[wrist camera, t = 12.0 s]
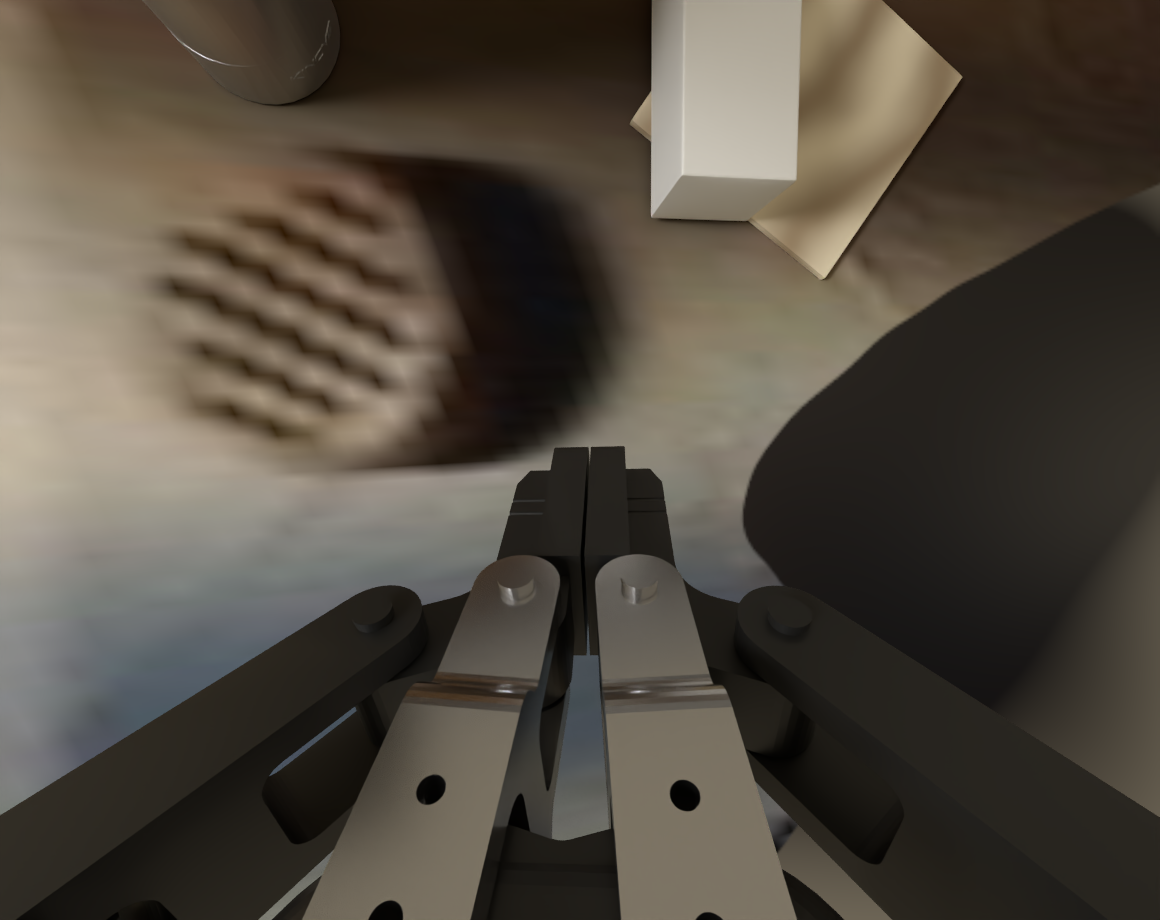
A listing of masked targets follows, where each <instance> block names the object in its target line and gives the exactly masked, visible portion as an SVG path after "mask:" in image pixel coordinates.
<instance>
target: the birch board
mask: <svg viewBox="0 0 1160 920" xmlns="http://www.w3.org/2000/svg"><path fill="white" fill-rule="evenodd" d="M961 78H962V76H961V75H960V74H959V73H958V72H957V71H956V70H955V69H954V68H953V67H952V66H951V65H950V64H949V63H948V62H946V61H945V60H944V59H943V58H942V57H941V56H940V55H939V54H938V53H937V52H936V51H935V50H934V49H933V48H932V47H931V46H930V45H929V44H927V43H926V42H925V41H924V40H923V39H922V38H921V37H920V36H919V35H918V34H917V33H916V32H915V31H914V30H913V29H912V28H911V27H910V26H909V25H907V24H906V23H905V22H904V21H903V20H902V19H901V18H900V17H899V16H898V15H897V14H896V13H895V12H894V11H893V10H892V9H891V8H890V7H889V6H887V5H886V4H885V3H884V2H883V1H882V0H802V16H801V50H800V84H799V118H798V152H797V179H796V181H795V182H794V183H793V184H792V185H791V186H790V187H788V188H787V189H786V190H785V191H783V192H782V193H781V194H780V195H778V196H777V197H776V198H775V199H773V200H772V201H771V202H770V203H768V204H767V205H766V206H765V207H763V208H762V209H761V210H760V211H758V212H757V213H756V214H755V215H753V216H752V217H751V218H750V219H748V221H749V222H750V223H751V224H752V225H754V226H755V227H756V228H757V229H759V230H760V231H761V232H762V233H764V234H765V235H766V236H767V237H768V238H770V239H771V240H772V241H773V242H775V243H776V244H777V245H778V246H779V247H781V248H782V249H783V250H784V251H786V252H787V253H788V254H789V255H791V256H792V257H793V258H794V259H795V260H797V261H798V262H799V263H800V264H802V265H803V266H804V267H805V268H806V269H808V270H809V271H810V272H811V273H813V274H814V275H815V276H816V277H818V278H819V279H820V280H822V279H824V278H825V277H826V276H827V275H828V273H829V272H830V270H831V269H832V267H833V266H834V264H835V263H836V261H837V260H838V258H839V257H840V256H841V254H842V253H843V251H844V250H845V248H846V247H847V245H848V244H849V242H850V241H851V239H852V238H853V236H854V235H855V234H856V232H857V231H858V229H859V228H860V226H861V225H862V223H863V222H864V220H865V219H866V217H867V216H868V215H869V213H870V212H871V210H872V209H873V207H874V206H875V204H876V203H877V201H878V200H879V198H880V197H881V195H882V194H883V193H884V191H885V190H886V188H887V187H888V185H889V184H890V182H891V181H892V179H893V178H894V176H895V175H896V174H897V172H898V171H899V169H900V168H901V166H902V165H903V163H904V162H905V160H906V159H907V157H908V156H909V154H910V153H911V152H912V150H913V149H914V147H915V146H916V144H917V143H918V141H919V140H920V138H921V137H922V135H923V134H924V133H925V131H926V130H927V128H928V127H929V125H930V124H931V122H932V121H933V119H934V118H935V116H936V115H937V113H938V112H939V111H940V109H941V108H942V106H943V105H944V103H945V102H946V100H947V99H948V97H949V96H950V94H951V93H952V92H953V90H954V89H955V87H956V86H957V84H958V83H959V81H960V80H961ZM630 125H631V126H632V127H633V128H635V129H636V130H637V131H638V132H640V133H641V134H642V135H643V136H644V137H646V138H647V139H648V140H649V141H651V92H650V94H649V95H648V97H647V98H646V100H645V101H644V103H643V104H642V105H641V107H640V108H639V110H638V111H637V113H636V114H635V116H634V117H633V119H632V120H631V123H630Z"/></svg>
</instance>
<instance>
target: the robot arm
mask: <svg viewBox="0 0 1160 920" xmlns="http://www.w3.org/2000/svg"><path fill="white" fill-rule="evenodd" d="M142 1H143V2H144V3H145V4H146V5H147V6H148V7H149V8H150V9H151V11H152V12H153V13H154V14H155V15H156V16H157V17H158V18H159V19H160V20H161V22H162V23H163V24H164V25H165V26H166V27H167V28H168V29H169V31H170V32H171V33H172V34H173V35H174V36H175V37H176V38H177V40H178V41H179V42H180V43H181V44H182V45H183V46H184V47H185V48H186V49H187V50H188V51H189V53H190V54H191V55H192V56H193V57H194V58H195V59H196V60H197V61H198V62H199V63H200V64H201V66H202V67H203V68H204V69H205V70H206V71H207V72H208V73H209V74H210V75H211V76H212V77H213V78H214V80H215V81H216V82H217V83H219V84H220V85H222V86H223V87H224V88H226V89H227V90H228V91H230V92H231V93H233V94H235V95H237V96H240V97H242V98H244V99H246V100H249V101H253V102H257V103H261V104H277V105H278V104H284V103H290V102H295V101H297V100H299V99H302V98H304V97H307V96H308V95H310V94H311V93H312V92H314V91H315V90H317V89H318V88H319V87H320V86H321V85H322V84H323V83H324V81H325V80H326V79H327V78H328V77H329V75H330V73H331V71H332V69H333V67H334V65H335V64H336V60H337V56H338V52H339V48H340V28H339V22H338V16H337V13H336V11H335V8H334V5H333V3H332V0H142ZM588 626H589V644H590V655H598V656H599V676H600V700H601V714H602V729H603V744H604V758H605V773H606V788H607V802H608V818H609V829H608V830H604V831H601V832H597V833H593V834H589V835H586V836H582V837H578V838H575V839H571V840H565V841H560V840H554V839H552V816H553V804H554V796H555V790H556V783H557V777H558V771H559V764H560V758H561V751H562V745H563V738H564V732H565V726H566V719H567V713H568V706H569V700H570V682H571V678H572V669H573V655H586V653H587V631H588ZM353 707H356V710H357V711H356V712H355V713H354V714H352V715H351V716H350V717H348V718H347V719H346V720H345V721H343V722H342V723H341V724H339V725H338V726H337V727H336V728H334V729H333V730H332V731H330V732H329V733H328V734H326V735H325V736H324V737H323V738H321V739H320V740H319V741H317V742H316V743H315V744H314V745H312V746H311V747H310V748H308V749H307V750H306V751H305V752H303V753H302V754H301V755H299V756H298V757H297V758H295V759H294V760H293V761H292V762H290V763H289V764H288V765H286V766H285V767H284V768H283V769H281V770H280V771H278V772H277V773H275V774H273V775H271V776H269V775H270V774H271V773H272V771H273V770H274V769H275V768H276V767H277V766H278V765H279V764H280V763H282V762H283V761H284V760H285V759H287V758H288V757H289V756H291V755H292V754H293V753H294V752H296V751H297V750H298V749H300V748H301V747H302V746H304V745H305V744H306V743H308V742H309V741H310V740H311V739H313V738H314V737H315V736H317V735H318V734H319V733H321V732H322V731H323V730H325V729H326V728H327V727H328V726H330V725H331V724H332V723H334V722H335V721H336V720H338V719H339V718H340V717H342V716H343V715H344V714H345V713H347V712H348V711H349V710H351V709H352V708H353ZM268 776H269V777H268ZM755 782H756V783H757V784H758V785H759V786H760V787H761V788H762V789H763V790H764V791H765V792H766V793H767V794H768V795H769V796H770V797H771V798H772V799H773V800H774V801H775V802H776V803H777V804H778V805H779V806H780V807H781V808H782V809H783V810H784V811H785V812H786V813H787V814H788V815H789V816H790V817H791V818H792V819H793V820H794V821H795V822H796V823H797V824H798V825H799V826H800V827H801V828H802V829H803V830H804V831H805V832H806V833H807V834H808V835H809V836H810V837H811V838H812V839H813V840H814V841H815V842H816V843H817V844H818V845H819V846H820V847H821V848H822V849H823V850H824V851H825V852H826V853H827V854H828V855H829V856H830V857H831V858H832V859H833V860H834V861H835V862H836V863H837V864H838V865H839V866H840V867H841V868H842V869H843V870H844V871H845V872H846V873H847V874H848V876H850V877H851V879H852V880H853V881H854V882H855V883H856V884H857V885H858V886H859V887H860V888H862V890H863V891H864V892H865V893H866V894H867V895H868V896H869V897H870V898H871V899H872V900H873V901H874V902H875V903H876V904H877V905H878V906H879V907H880V908H881V909H882V910H883V911H884V912H885V913H886V914H887V915H888V916H889V917H890V918H891V919H892V920H1160V817H1158V816H1156V815H1155V814H1153V813H1152V812H1150V811H1149V810H1147V809H1146V808H1144V807H1143V806H1141V805H1139V804H1138V803H1136V802H1135V801H1133V800H1132V799H1130V798H1128V797H1127V796H1125V795H1124V794H1122V793H1121V792H1119V791H1117V790H1116V789H1114V788H1113V787H1111V786H1110V785H1108V784H1107V783H1105V782H1103V781H1102V780H1100V779H1099V778H1097V777H1096V776H1094V775H1093V774H1091V773H1089V772H1088V771H1086V770H1085V769H1083V768H1082V767H1080V766H1078V765H1077V764H1075V763H1074V762H1072V761H1071V760H1069V759H1068V758H1066V757H1064V756H1063V755H1061V754H1060V753H1058V752H1057V751H1055V750H1053V749H1052V748H1050V747H1049V746H1047V745H1046V744H1044V743H1043V742H1041V741H1039V740H1038V739H1036V738H1034V737H1033V736H1031V735H1030V734H1028V733H1027V732H1025V731H1024V730H1022V729H1021V728H1019V727H1018V726H1016V725H1014V724H1013V723H1011V722H1010V721H1008V720H1007V719H1005V718H1003V717H1002V716H1000V715H999V714H997V713H996V712H994V711H993V710H991V709H989V708H988V707H986V706H985V705H983V704H981V703H980V702H978V701H977V700H975V699H974V698H972V697H971V696H969V695H967V694H966V693H964V692H963V691H961V690H960V689H958V688H957V687H955V686H953V685H952V684H950V683H949V682H947V681H945V680H944V679H943V678H941V677H939V676H938V675H936V674H935V673H933V672H932V671H930V670H928V669H927V668H925V667H924V666H922V665H921V664H919V663H917V662H916V661H914V660H913V659H911V658H910V657H908V656H907V655H905V654H903V653H902V652H900V651H899V650H897V649H895V648H894V647H893V646H891V645H889V644H888V643H886V642H885V641H883V640H882V639H880V638H878V637H877V636H875V635H874V634H872V633H871V632H869V631H867V630H866V629H864V628H863V627H861V626H860V625H858V624H856V623H855V622H853V621H852V620H850V619H849V618H847V617H846V616H844V615H843V614H841V613H839V612H838V611H836V610H834V609H833V608H831V607H830V606H828V605H827V604H825V603H823V602H822V601H821V600H819V599H817V598H816V597H814V596H812V595H810V594H808V593H806V592H803V591H801V590H798V589H795V588H790V587H785V586H766V587H761V588H758V589H755V590H753V591H751V592H749V593H748V594H747V595H745V596H744V597H743V599H742V600H741V601H740V603H736V602H732V601H728V600H724V599H720V598H716V597H713V596H709V595H707V594H705V593H702V592H700V591H698V590H697V589H695V588H693V587H692V586H691V585H689V584H688V583H687V582H686V581H685V580H684V579H683V578H682V576H681V575H680V573H679V572H678V570H677V569H676V566H675V562H674V555H673V549H672V543H671V536H670V530H669V524H668V517H667V514H666V505H665V501H664V492H663V486H662V482H661V480H660V479H659V478H658V477H657V476H656V475H655V474H654V473H653V472H652V471H651V469H626V465H625V447H624V446H615V447H591V455H590V461H589V448H588V447H570V448H555V449H554V454H553V459H552V465H551V470H549V471H530V472H529V473H528V474H527V475H526V476H525V477H524V478H523V479H522V480H521V481H520V482H519V483H518V484H517V488H516V491H515V495H514V499H513V503H512V506H511V510H510V516H509V517H508V521H507V524H506V528H505V532H504V535H503V539H502V543H501V546H500V550H499V554H498V557H497V561H496V562H494V563H492V564H490V565H489V566H487V567H486V568H485V569H484V570H483V571H481V573H480V574H479V575H478V576H477V578H476V580H475V582H474V584H473V587H472V589H471V591H469V592H467V593H465V594H463V595H460V596H457V597H454V598H451V599H447V600H443V601H439V602H435V603H431V604H427V605H423V606H422V604H421V600H420V599H419V597H418V595H417V594H416V593H415V592H413V591H412V590H410V589H408V588H405V587H401V586H392V585H389V586H380V587H375V588H372V589H368V590H365V591H363V592H361V593H359V594H357V595H355V596H353V597H351V598H350V599H348V600H346V601H345V602H343V603H342V604H340V605H338V606H337V607H335V608H334V609H332V610H330V611H329V612H327V613H326V614H324V615H322V616H321V617H319V618H317V619H316V620H314V621H313V622H311V623H309V624H308V625H306V626H305V627H303V628H301V629H300V630H298V631H297V632H295V633H293V634H292V635H290V636H288V637H287V638H285V639H284V640H282V641H280V642H279V643H277V644H276V645H274V646H272V647H271V648H269V649H268V650H266V651H264V652H263V653H261V654H259V655H258V656H256V657H255V658H253V659H251V660H250V661H248V662H247V663H245V664H243V665H242V666H240V667H239V668H237V669H235V670H234V671H232V672H230V673H229V674H227V675H226V676H224V677H222V678H221V679H219V680H218V681H216V682H214V683H213V684H211V685H210V686H208V687H206V688H205V689H203V690H201V691H200V692H198V693H197V694H195V695H193V696H192V697H190V698H189V699H187V700H185V701H184V702H182V703H181V704H179V705H177V706H176V707H174V708H172V709H171V710H169V711H168V712H166V713H164V714H163V715H161V716H160V717H158V718H156V719H155V720H153V721H152V722H150V723H148V724H147V725H145V726H143V727H142V728H140V729H139V730H137V731H135V732H134V733H132V734H131V735H129V736H127V737H126V738H124V739H123V740H121V741H119V742H118V743H116V744H114V745H113V746H111V747H110V748H108V749H106V750H105V751H103V752H102V753H100V754H98V755H97V756H95V757H94V758H92V759H90V760H89V761H87V762H86V763H84V764H82V765H81V766H79V767H77V768H76V769H74V770H73V771H71V772H69V773H68V774H66V775H65V776H63V777H61V778H60V779H58V780H57V781H55V782H53V783H52V784H50V785H48V786H47V787H45V788H44V789H42V790H40V791H39V792H37V793H36V794H34V795H32V796H31V797H29V798H28V799H26V800H24V801H23V802H21V803H19V804H18V805H16V806H15V807H13V808H11V809H10V810H8V811H7V812H5V813H3V814H2V815H0V920H258V919H259V918H260V917H261V916H263V915H264V914H265V913H266V912H267V911H268V910H269V909H270V908H271V907H272V906H273V905H274V904H276V903H277V902H278V901H279V900H280V899H281V898H282V897H283V896H284V895H285V894H286V893H287V892H288V891H290V890H291V889H292V888H293V887H294V886H295V885H296V884H297V883H298V882H299V881H300V880H301V879H302V878H304V877H305V876H306V875H307V874H308V873H309V872H310V871H311V870H312V869H313V868H314V867H315V866H317V865H318V864H319V863H320V862H321V861H322V860H323V859H324V858H325V857H326V856H327V855H328V854H329V853H331V852H332V851H333V850H334V851H333V853H332V855H331V857H330V860H329V862H328V864H327V866H326V868H325V871H324V873H323V875H322V876H321V877H319V878H318V879H317V880H315V881H314V882H313V883H312V884H311V885H309V886H308V887H307V888H306V889H304V890H303V891H302V892H301V893H300V894H298V895H297V896H296V897H295V898H294V899H293V900H292V901H291V902H290V903H289V904H288V905H287V906H286V907H285V908H284V909H283V910H281V911H280V912H279V913H278V914H277V915H276V916H275V917H274V918H273V919H272V920H844V919H843V918H842V917H841V916H840V915H839V914H838V913H837V912H836V911H835V910H834V909H833V908H832V907H831V906H829V905H828V904H827V903H826V902H825V901H824V900H823V899H822V898H821V897H820V896H819V895H818V894H817V893H815V892H814V891H812V890H811V889H810V888H809V887H807V886H806V885H805V884H803V883H802V882H801V881H799V880H798V879H797V878H795V877H794V876H792V875H791V874H789V873H788V872H786V871H784V870H783V869H781V866H780V862H779V859H778V856H777V852H776V849H775V846H774V842H773V839H772V836H771V833H770V829H769V826H768V823H767V819H766V816H765V813H764V810H763V806H762V803H761V800H760V796H759V793H758V790H757V787H756V783H755Z"/></svg>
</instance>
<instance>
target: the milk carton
mask: <svg viewBox="0 0 1160 920" xmlns="http://www.w3.org/2000/svg"><path fill="white" fill-rule="evenodd" d="M801 16H802V0H652V78H651V218H669V219H697V220H726V221H747V220H748V219H750V218H751V217H752V216H753V215H755V214H756V213H757V212H758V211H760V210H761V209H762V208H763V207H765V206H766V205H767V204H768V203H770V202H771V201H772V200H773V199H775V198H776V197H777V196H778V195H780V194H781V193H782V192H783V191H785V190H786V189H787V188H788V187H790V186H791V185H792V184H793V183H794V182H795V181H796V179H797V152H798V118H799V84H800V50H801Z"/></svg>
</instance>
